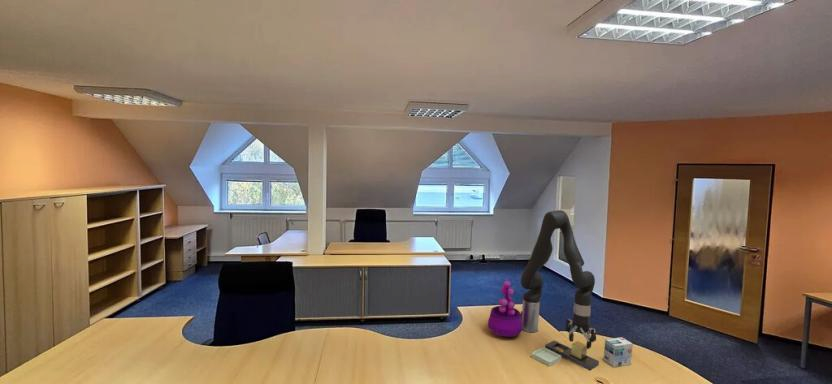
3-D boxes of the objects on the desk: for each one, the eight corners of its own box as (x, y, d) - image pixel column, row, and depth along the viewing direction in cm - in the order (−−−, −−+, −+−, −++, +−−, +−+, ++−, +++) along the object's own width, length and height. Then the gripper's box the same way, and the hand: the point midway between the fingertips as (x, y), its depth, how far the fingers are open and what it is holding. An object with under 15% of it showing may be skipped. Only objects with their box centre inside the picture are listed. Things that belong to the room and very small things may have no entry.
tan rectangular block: (570, 359, 181) (572, 343, 180) (576, 356, 184) (577, 341, 183) (580, 364, 177) (581, 348, 176) (585, 360, 180) (587, 345, 179)
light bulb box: (613, 367, 175) (615, 345, 174) (602, 360, 181) (604, 339, 180) (631, 364, 178) (633, 343, 177) (620, 357, 184) (622, 336, 183)
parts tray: (531, 356, 182) (531, 352, 182) (543, 350, 188) (543, 347, 188) (549, 366, 174) (549, 362, 174) (561, 359, 180) (561, 355, 180)
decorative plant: (481, 327, 213) (484, 276, 210) (509, 323, 218) (512, 274, 215) (498, 343, 195) (501, 288, 192) (528, 339, 200) (531, 285, 198)
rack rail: (544, 348, 191) (545, 344, 191) (553, 344, 196) (553, 340, 196) (590, 370, 172) (590, 366, 172) (598, 365, 177) (599, 361, 177)
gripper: (563, 309, 182) (561, 341, 183) (592, 319, 170) (590, 353, 172) (572, 306, 186) (570, 337, 187) (600, 315, 175) (598, 348, 176)
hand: (579, 344), depth 179 cm, fingers open, 8 cm apart
